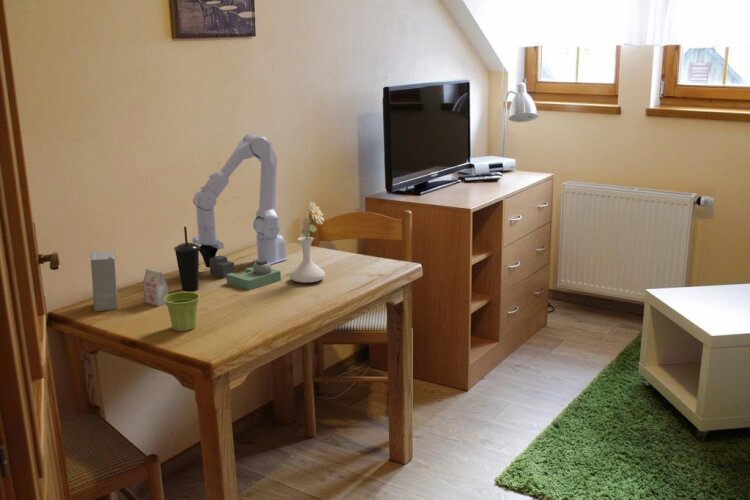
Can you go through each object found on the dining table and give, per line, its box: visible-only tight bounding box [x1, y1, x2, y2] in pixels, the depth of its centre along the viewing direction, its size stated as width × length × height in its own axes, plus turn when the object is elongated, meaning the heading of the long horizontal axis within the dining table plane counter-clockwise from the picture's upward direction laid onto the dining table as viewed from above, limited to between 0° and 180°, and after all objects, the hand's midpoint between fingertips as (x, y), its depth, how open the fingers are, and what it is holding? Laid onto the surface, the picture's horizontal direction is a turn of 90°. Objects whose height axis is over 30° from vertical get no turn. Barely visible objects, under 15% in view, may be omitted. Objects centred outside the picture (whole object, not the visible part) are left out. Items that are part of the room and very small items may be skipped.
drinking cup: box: [173, 226, 201, 292], centre depth 238 cm, size 8×8×20 cm
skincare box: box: [90, 250, 118, 312], centre depth 225 cm, size 8×7×16 cm
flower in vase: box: [289, 201, 326, 284], centre depth 245 cm, size 13×11×25 cm
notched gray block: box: [209, 254, 235, 279], centre depth 255 cm, size 4×7×6 cm, turn 48°
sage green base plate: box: [226, 260, 282, 291], centre depth 246 cm, size 13×11×7 cm
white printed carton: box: [142, 268, 169, 308], centre depth 227 cm, size 4×7×10 cm, turn 52°
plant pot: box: [164, 291, 201, 332], centre depth 207 cm, size 9×9×9 cm
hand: (209, 266), depth 259 cm, fingers closed
